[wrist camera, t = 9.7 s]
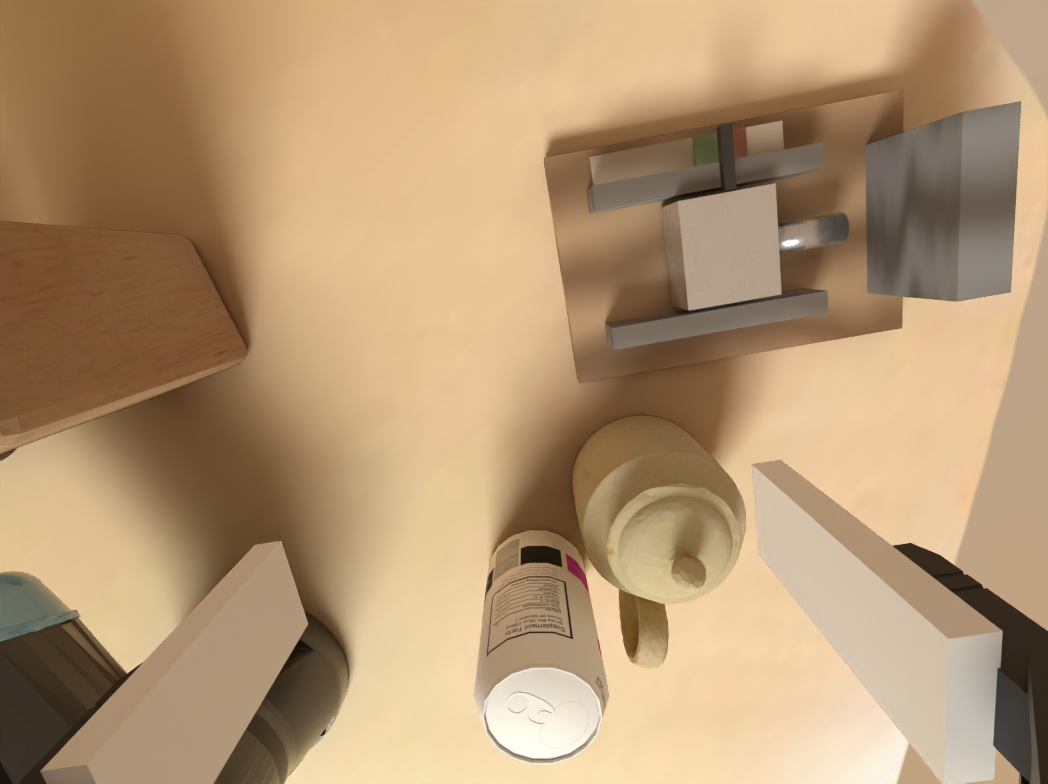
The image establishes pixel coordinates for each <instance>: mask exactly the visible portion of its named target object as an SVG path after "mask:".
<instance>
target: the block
mask: <svg viewBox="0 0 1048 784" xmlns="http://www.w3.org/2000/svg"><path fill="white" fill-rule="evenodd" d="M246 356H247V349H246V345H245V343H244V341H243V340H242V338H241V336H240V334H239V332H238V330H237V328H236V326H235V324H234V322H233V320H232V318H231V316H230V314H229V312H228V311H227V309H226V307H225V305H224V303H223V301H222V299H221V297H220V295H219V293H218V291H217V289H216V287H215V285H214V283H213V282H212V280H211V278H210V276H209V274H208V272H207V270H206V268H205V266H204V264H203V262H202V260H201V258H200V256H199V254H198V253H197V251H196V249H195V247H194V245H193V244H192V243H191V242H190V241H189V240H188V239H187V238H186V237H185V236H183V235H173V234H160V233H148V232H135V231H122V230H109V229H96V228H83V227H70V226H58V225H45V224H32V223H19V222H6V221H0V454H1V453H4V452H7V451H10V450H12V449H15V448H18V447H20V446H23V445H26V444H29V443H31V442H34V441H37V440H40V439H42V438H45V437H48V436H50V435H53V434H56V433H59V432H61V431H64V430H67V429H69V428H72V427H75V426H78V425H80V424H83V423H86V422H89V421H91V420H94V419H97V418H99V417H102V416H105V415H108V414H110V413H113V412H116V411H119V410H121V409H124V408H127V407H129V406H132V405H135V404H138V403H140V402H143V401H146V400H148V399H151V398H153V397H156V396H159V395H161V394H164V393H166V392H169V391H171V390H174V389H176V388H179V387H181V386H184V385H186V384H189V383H191V382H194V381H197V380H199V379H202V378H204V377H207V376H209V375H212V374H214V373H217V372H219V371H222V370H224V369H227V368H229V367H232V366H235V365H237V364H239V363H240V362H241V361H242V360H243V359H244V358H245V357H246Z"/></svg>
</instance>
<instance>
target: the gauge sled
mask: <svg viewBox="0 0 1048 784" xmlns="http://www.w3.org/2000/svg"><path fill="white" fill-rule="evenodd" d="M716 129H717V142H718V155H719V167H720V180H721V191H726V190H732V189H735V188H737V185H736V171H735V156H734V142H733V128H732V123H731V124H725V125H720V126H719V127H717V128H716ZM661 211H662V220H663V230H664V240H665V249H666V259H667V268H668V278H669V287H670V297H671V306H675V307H678V308H681V309H685V310H688V311H690V310H695V309H701V308H707V307H712V306H718V305H724V304H730V303H735V302H741V301H747V300H752V299H758V298H764V297H770V296H775V295H781V294H782V293H781V274H780V256H779V254H783V253H789V252H795V251H800V250H806V249H811V248H817V247H823V246H828V245H834V244H839V243H843V242H844V241H845V240H846V239H847V237H848V234H849V220H848V218H847V216H846V215H845V214H844V213H843V212H837V213H832V214H826V215H821V216H815V217H810V218H804V219H799V220H793V221H788V222H782V223H778V218H777V199H776V183H774V184H769V185H763V186H758V187H753V188H747V189H742V190H736V191H731V192H725V193H720V194H715V195H709V196H704V197H698V198H693V199H687V200H682V201H677V202H675V203H672V204H670V205H667V206H664V207H662V208H661Z"/></svg>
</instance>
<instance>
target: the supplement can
mask: <svg viewBox="0 0 1048 784" xmlns="http://www.w3.org/2000/svg"><path fill="white" fill-rule="evenodd" d="M608 698H609V693H608V687H607V681H606V675H605V670H604V665H603V660H602V655H601V650H600V645H599V640H598V635H597V630H596V625H595V620H594V615H593V610H592V605H591V600H590V594H589V589H588V584H587V579H586V574H585V569H584V564H583V559H582V557H581V556H580V554H579V552H578V551H577V549H576V548H575V546H574V545H573V544H571V543H570V542H569V541H568V540H566V539H565V538H564V537H562V536H561V535H558V534H555V533H551V532H548V531H545V530H528V531H525V532H522V533H519V534H516V535H513V536H511V537H510V538H508V539H507V540H506V541H504V542H503V543H502V544H500V545H499V546H498V548H497V549H496V551H495V552H494V554H493V556H492V557H491V559H490V564H489V569H488V576H487V585H486V593H485V602H484V611H483V619H482V628H481V637H480V646H479V654H478V663H477V672H476V681H475V689H474V699H475V703H476V707H477V712H478V715H479V717H480V719H481V721H482V722H483V724H484V728H485V732H486V735H487V736H488V737H489V739H490V740H491V741H492V743H493V744H494V745H495V747H496V748H497V749H498V750H500V751H501V752H503V753H504V754H506V755H507V756H509V757H510V758H512V759H515V760H518V761H522V762H525V763H529V764H555V763H558V762H562V761H565V760H569V759H572V758H573V757H575V756H576V755H578V754H579V753H581V752H582V751H584V750H585V749H587V748H588V746H589V745H590V744H591V743H592V741H593V740H594V739H595V737H596V736H597V735H598V732H599V728H600V724H601V721H602V718H603V716H604V713H605V709H606V705H607V701H608Z"/></svg>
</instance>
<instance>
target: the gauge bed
mask: <svg viewBox="0 0 1048 784" xmlns="http://www.w3.org/2000/svg"><path fill="white" fill-rule="evenodd" d="M1020 113H1021V101H1020V102H1015V103H1009V104H1004V105H999V106H993V107H988V108H983V109H977V110H972V111H967V112H962V113H959V114H956V115H953V116H950V117H947V118H944V119H941V120H938V121H935V122H932V123H930V124H927V125H924V126H921V127H918V128H915V129H912V130H909V131H906V132H903V90H898V91H893V92H888V93H883V94H877V95H872V96H867V97H861V98H856V99H851V100H846V101H840V102H835V103H830V104H825V105H819V106H814V107H809V108H803V109H798V110H793V111H788V112H782V113H777V114H772V115H767V116H761V117H756V118H751V119H745V120H740V121H735V122H730V123H724V124H719V125H714V126H709V127H703V128H698V129H693V130H688V131H682V132H677V133H672V134H666V135H661V136H656V137H651V138H645V139H640V140H635V141H630V142H624V143H619V144H614V145H608V146H603V147H598V148H593V149H587V150H582V151H577V152H572V153H566V154H561V155H556V156H550V157H545V159H544V166H545V172H546V179H547V185H548V192H549V198H550V204H551V211H552V217H553V224H554V230H555V237H556V243H557V250H558V256H559V263H560V269H561V276H562V282H563V289H564V295H565V302H566V308H567V315H568V321H569V328H570V334H571V340H572V347H573V353H574V360H575V366H576V373H577V379H578V381H579V383H583V382H589V381H595V380H601V379H607V378H613V377H618V376H624V375H630V374H636V373H642V372H648V371H654V370H659V369H665V368H671V367H677V366H683V365H689V364H695V363H700V362H706V361H712V360H718V359H724V358H730V357H736V356H741V355H747V354H753V353H759V352H765V351H771V350H777V349H782V348H788V347H794V346H800V345H806V344H812V343H818V342H823V341H829V340H835V339H841V338H847V337H853V336H859V335H864V334H870V333H876V332H882V331H888V330H894V329H900V328H902V296H903V297H914V298H925V299H935V300H946V301H963V300H969V299H975V298H981V297H986V296H992V295H998V294H1004V293H1010V292H1011V280H1012V262H1013V243H1014V224H1015V206H1016V187H1017V169H1018V150H1019V132H1020ZM731 123H732V128H733V142H734V156H735V171H736V185H737V188H735V189H732V190H726V191H721V180H720V167H719V155H718V142H717V129H716V128H717V127H719V126H720V125H725V124H731ZM774 183H776V199H777V218H778V223H782V222H788V221H793V220H799V219H804V218H810V217H815V216H821V215H826V214H832V213H837V212H843V213H844V214H845V215H846V216H847V218H848V220H849V234H848V237H847V239H846V240H845V241H844V242H843V243H839V244H834V245H828V246H823V247H817V248H811V249H806V250H800V251H795V252H789V253H783V254H779V256H780V274H781V293H782V294H781V295H775V296H770V297H764V298H758V299H752V300H747V301H741V302H735V303H730V304H724V305H718V306H712V307H707V308H701V309H695V310H690V311H688V310H685V309H681V308H678V307H675V306H671V297H670V287H669V278H668V268H667V259H666V249H665V240H664V230H663V220H662V211H661V208H662V207H664V206H667V205H670V204H672V203H675V202H677V201H682V200H687V199H693V198H698V197H704V196H709V195H715V194H720V193H725V192H731V191H736V190H742V189H747V188H753V187H758V186H763V185H769V184H774Z"/></svg>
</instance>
